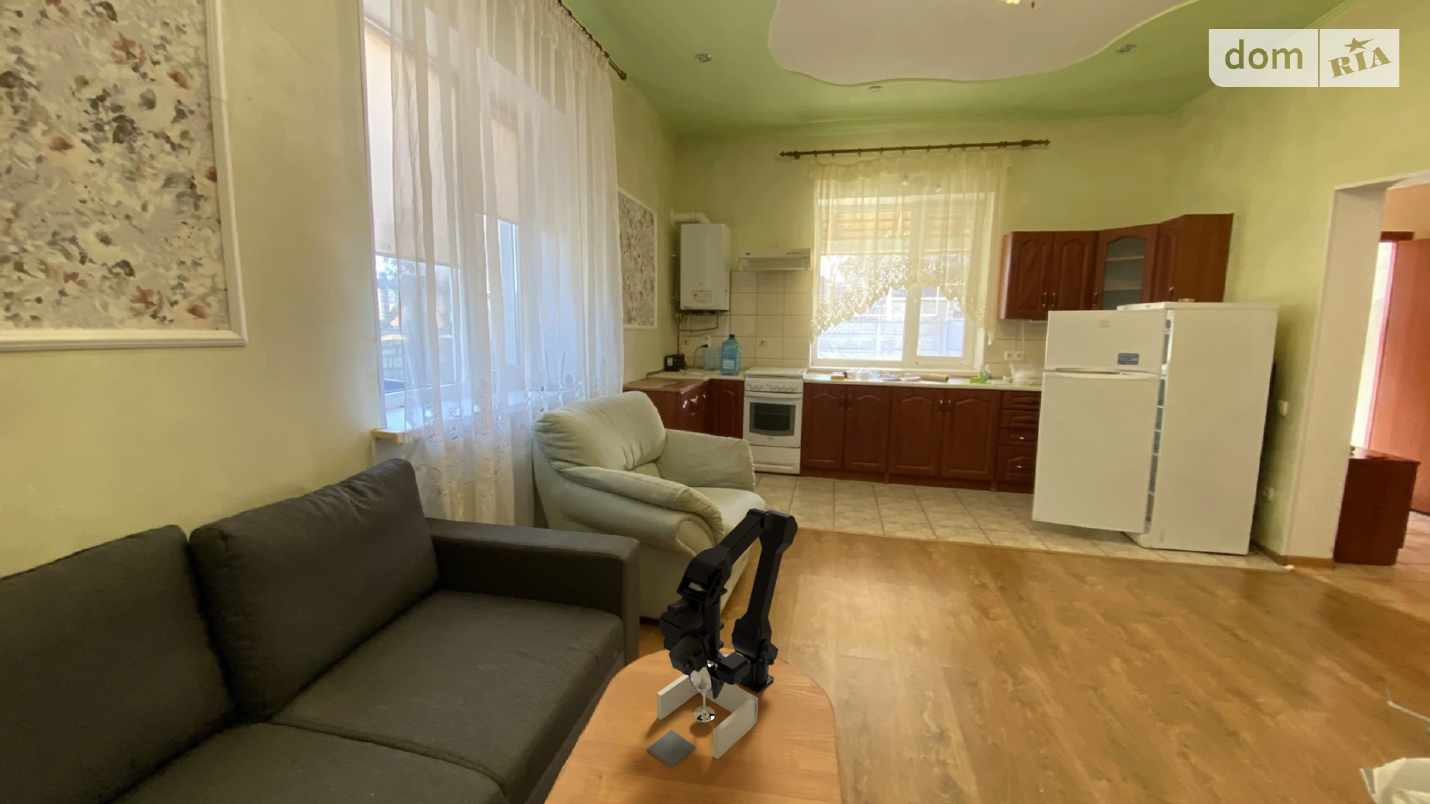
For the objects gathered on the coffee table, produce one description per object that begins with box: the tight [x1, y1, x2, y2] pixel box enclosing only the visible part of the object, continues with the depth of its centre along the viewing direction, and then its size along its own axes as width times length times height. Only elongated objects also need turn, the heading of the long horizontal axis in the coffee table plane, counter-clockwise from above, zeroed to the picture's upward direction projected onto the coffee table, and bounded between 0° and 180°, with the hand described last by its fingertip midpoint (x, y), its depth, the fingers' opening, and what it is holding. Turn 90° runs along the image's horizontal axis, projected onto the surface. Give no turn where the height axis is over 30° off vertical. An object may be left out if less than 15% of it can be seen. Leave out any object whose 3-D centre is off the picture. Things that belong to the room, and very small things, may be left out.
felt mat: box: [646, 729, 696, 769], centre depth 103 cm, size 6×6×1 cm
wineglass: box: [691, 661, 716, 723], centre depth 109 cm, size 6×6×12 cm
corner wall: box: [656, 674, 759, 760], centre depth 111 cm, size 13×16×6 cm
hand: (704, 691), depth 110 cm, fingers closed on wineglass, 5 cm apart
